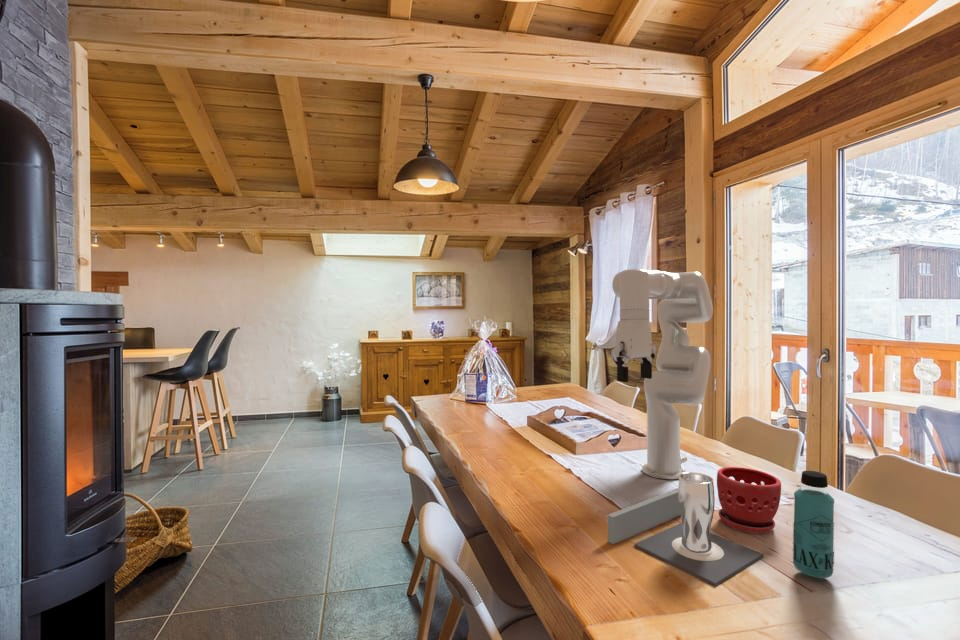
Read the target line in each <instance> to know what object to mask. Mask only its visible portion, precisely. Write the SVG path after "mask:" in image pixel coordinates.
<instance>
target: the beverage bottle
mask: <svg viewBox="0 0 960 640" xmlns="http://www.w3.org/2000/svg"><path fill="white" fill-rule="evenodd" d="M800 482H801V484H802V485H805V486H803V487H800V488H798V489H797V490H795V491H794V493H793V494H794V502H793V503H794V509H793V524H792V527H793V532H792V539H793V540H792V544H793V545H792V562H793V565H794V568H795V569H796V570H797V571H798V572H801V573H802V574H805V575H807V576H810V577H814V578H817V579H827V578H830V577H832V576H833V573H834V570H835V569H834V568H835V561H834V557H835V551H834V540H835V537H834V536H835V535H834V533H835V531H834V530H835V523H834V520H835V519H834V515H835V513H834V512H835V511H834V508H835V506H834V505H835V499H834V497H833V496H832V495H831V494H829V493H828V492H827V491H825V490H824V489H825V488H828V485H829V484H828V477H827V474H825V473H823V472H821V471H815V470H803V471H802V472H801V479H800Z"/></svg>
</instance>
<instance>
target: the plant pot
mask: <svg viewBox="0 0 960 640" xmlns="http://www.w3.org/2000/svg"><path fill="white" fill-rule="evenodd" d="M731 477H732V478H733V479H732V478H731ZM742 481H743V482H742ZM762 482H763V484H762ZM753 483H754V484H753ZM716 489H717V497H718V501H719V505H720V507H721V508H720V509H719V511H718V517H719V519H720V520H721V521H722V522H723V523H724V524H726V525H727V526H728V527H729V528H731V529H732V528H733V529H734V530H738V531H741V532H745V533H750V534H765V533H769V532H771V531H772V530H774V528H775V527H776V522H775V520H774V518H775V516H776V514H777V513H778V510H779V505H780V502H781V496H782V482H781V480H780V479H779V478H778V477H776V476H774V475H772V474H770V473H767V472H764V471H762V470H757V469H752V468H747V467H739V466H728V467H727V466H725V467H722V468H719V469H718V470H717V473H716Z"/></svg>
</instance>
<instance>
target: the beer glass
mask: <svg viewBox="0 0 960 640" xmlns="http://www.w3.org/2000/svg"><path fill="white" fill-rule="evenodd" d="M677 487H678V501H679V508H680V514H681V515H680V517H681V523H682V525H683V534H682V539H681V547H682V548H683V549H684V550H685V551H687V552H689V553H692V554H696V555H708V554H710V553H712V544H711V538H710V533H711V528H712V523H713V516H714V512H715V500H716V499H715V498H716V497H715V487H714V478H713V477H711V476H709V475H707V474H704V473H700V472H699V473H698V472H694V471H693V472H691V471H689V472H687V471H686V473H682V474H680V475H679V479H678V486H677Z"/></svg>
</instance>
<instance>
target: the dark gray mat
mask: <svg viewBox="0 0 960 640" xmlns="http://www.w3.org/2000/svg"><path fill="white" fill-rule="evenodd" d="M682 534H683V525H682V522H679V523H678V524H675V525H673V526H671V527H668V528H667V529H664V530H662V531H660V532H658V533H655V534H653V535H650V536H649V537H646V538H644V539H642V540H640V541H637V542H635V543H634V547H635V548H637V549H639V550H641V551H643V552H645V553H647V554H649V555H651V556H653V557H655V558H657V559H659V560H661V561H662V562H665V563H667V564H670V565H671V566H674V567H675V568H677V569H679V570H682V571H684V572H686V573H688V574H689V575H691V576H693V577H696V578H697V579H700V580H701V581H703V582H705V583H708V584H709V585H712V586H713V587H717V586H718V585H720V584H721V583H724V582H725V581H727V580H728V579H730V578H731V577H733V576H735V575H736V574H738V573H740V572H741V571H742V570H744V569H746V568H748V567H749V566H750V565H752V564H754V563H755V562H758V561H759V560H761V559H762V558H764V553H763V552H760V551H757V550H755V549H753V548H750V547H747V546H745V545H742V544H740V543H737V542H735V541H733V540H730V539H729V538H728V539H727V538H725V537H722V536H720V535H717V534H715V533H712V532H710V538H711V544H712V553H710V554H708V555H696V554H692V553H689V552H687V551H685V550H684V549H683V548H682V547H681V539H682Z"/></svg>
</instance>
